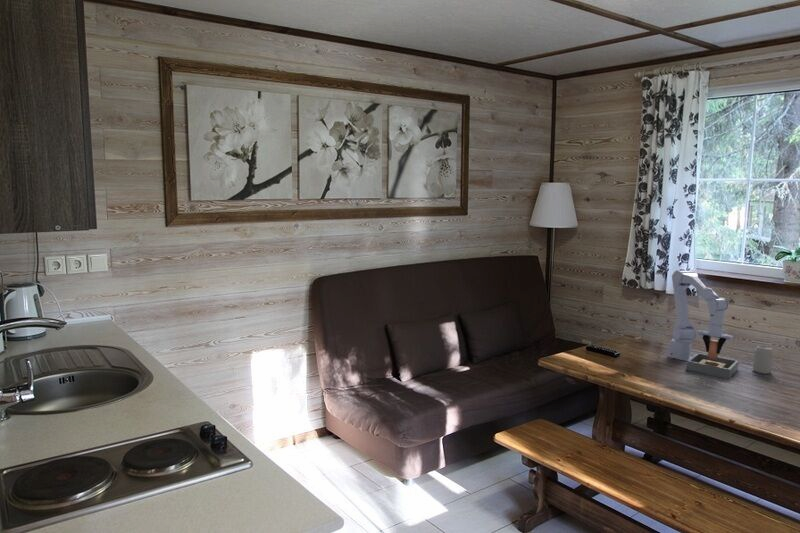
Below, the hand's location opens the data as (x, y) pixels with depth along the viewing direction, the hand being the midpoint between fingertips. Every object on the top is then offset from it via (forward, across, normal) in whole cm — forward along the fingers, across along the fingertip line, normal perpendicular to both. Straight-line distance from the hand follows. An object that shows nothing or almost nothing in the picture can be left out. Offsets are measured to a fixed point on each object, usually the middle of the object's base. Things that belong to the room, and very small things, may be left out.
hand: (713, 352), depth 276 cm
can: (+9, +18, +16) cm, 26 cm away
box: (+9, 0, +2) cm, 9 cm away
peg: (+2, 0, 0) cm, 3 cm away
